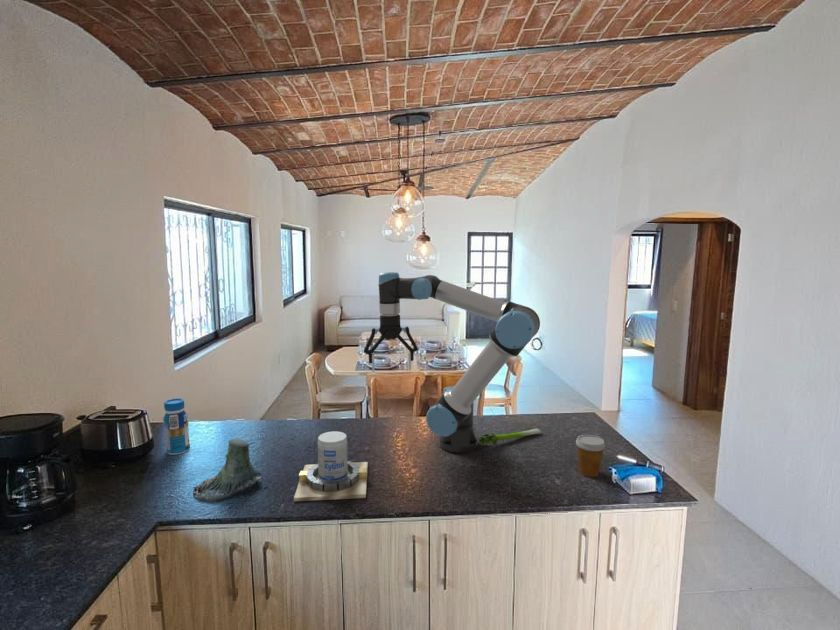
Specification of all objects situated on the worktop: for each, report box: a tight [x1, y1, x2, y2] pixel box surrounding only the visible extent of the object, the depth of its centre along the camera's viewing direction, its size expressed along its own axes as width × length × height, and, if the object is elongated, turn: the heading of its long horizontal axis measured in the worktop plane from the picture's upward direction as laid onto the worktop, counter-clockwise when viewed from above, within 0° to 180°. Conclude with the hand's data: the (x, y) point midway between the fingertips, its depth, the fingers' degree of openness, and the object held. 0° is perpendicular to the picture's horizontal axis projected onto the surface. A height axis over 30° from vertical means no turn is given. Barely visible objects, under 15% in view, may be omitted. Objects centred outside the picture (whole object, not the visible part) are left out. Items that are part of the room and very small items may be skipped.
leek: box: [477, 428, 542, 448], centre depth 189 cm, size 6×7×30 cm
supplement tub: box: [317, 430, 349, 481], centre depth 156 cm, size 10×10×15 cm
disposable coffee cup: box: [575, 434, 606, 478], centre depth 162 cm, size 10×10×12 cm
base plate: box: [293, 461, 369, 502], centre depth 157 cm, size 22×22×1 cm
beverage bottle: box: [162, 398, 191, 456], centre depth 181 cm, size 8×8×20 cm
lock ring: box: [298, 460, 368, 492], centre depth 157 cm, size 22×17×2 cm
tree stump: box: [192, 438, 262, 503], centre depth 155 cm, size 18×20×18 cm
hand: (391, 370), depth 178 cm, fingers open, 13 cm apart
